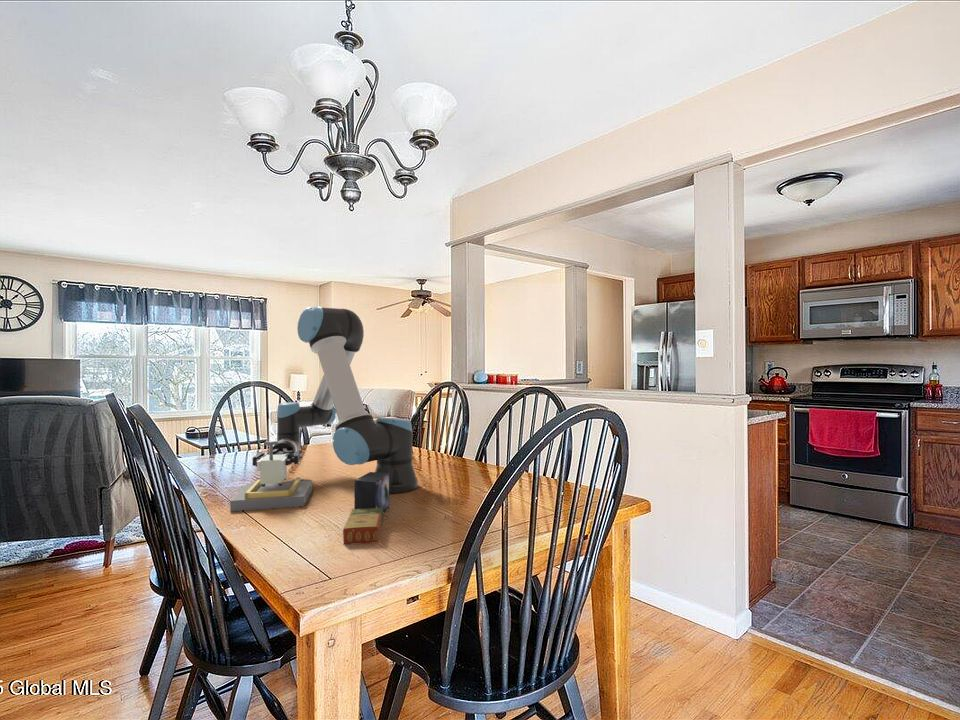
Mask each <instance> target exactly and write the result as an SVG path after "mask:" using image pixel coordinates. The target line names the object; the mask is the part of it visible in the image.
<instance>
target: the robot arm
mask: <svg viewBox="0 0 960 720" xmlns="http://www.w3.org/2000/svg"><path fill="white" fill-rule="evenodd" d="M360 318H361V317H360V316H358V315H357V314H356V313H355V312H354V311H352V310H350V309H347V308H337V307H336V308H334V307H322V306H319V305H318V306H308V307H307V308H305V309H303V311H302V312H301V314H300V315H299V319H298V322H297V335H298V338H299V339H300V340H301V341H302V342H304V343H307V344H308V343H309V347H310V351H311V352H313V353H314V354H316V355H317V356H318V359H319V363H320V366H321V369H322V372H323V376H322V378H321V381H320V382H319V385H318V388H317V390H316V393H315V396H314V399H313V401H312V403H311V405H308V406H307V405H306V406H300V403H299V402H297V401H296V402H293V401H291V402H290V401H289V402H280V403H278V405H277V410H276V420H277V422H276V423H277V424H276V425H277V442H278V444H277V445H273V455H279V454H287V455H286V457H284V458H283V459H282V460H281V470H284V469H285V468H286V466H290V465H292V464H294V465H297V464H299V461H300V460H301V459H302V457H303V454H302V453H303V450H301V447H302V440H301V434H300V433H301V431H300V430H301V428H307V427H308V428H309V427H317V426H324V425H329V424H332V423H333V422H334V421H335V420H336V417H337V419H338V422H337V424H336V425H335V430H336V431H335V432H334V434H333V436H332V440H333V441H332V447H333V452H334V453H335V455H336V458H338V459H339V461H341V462H342V463H344V464H345V465H349V466H355V465H364V464H366V463H370V462H374V461H376V467H375V471H374V472H378V473H389V494H401V493H407V492H410V491H413V490H416V489H417V488H418V487H419V483H418V482H419V480H418V477H417V475H416V472H415V468H414V465H413V434H414V433H413V427H412V422H411V420H410V419H405V418H394V417H393V418H391V417H377V418H376V420H375V421H374V418H373V415H372V414H370V413H368V412H366V409H365V406H364V403H363V400H362V397H361V395H360V391H359V389H358V386H357V382H356V379H355V377H354V373H353V370H352V367H351V364H352V362H353V358H354V356H355V354H356V353H358V352H359V351H360V350H361V347H362V345H363V341H364V332H365V331H364V325H363V322H362V320H361V319H360ZM266 455H269V451H268V452H267V453H265V452H263V451H259V452H258V453H257V454H255V455H254V456H253V457H252V466H253V467H256V471H257V472H260V460H262V459H263V458H264V457H265V456H266Z"/></svg>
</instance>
